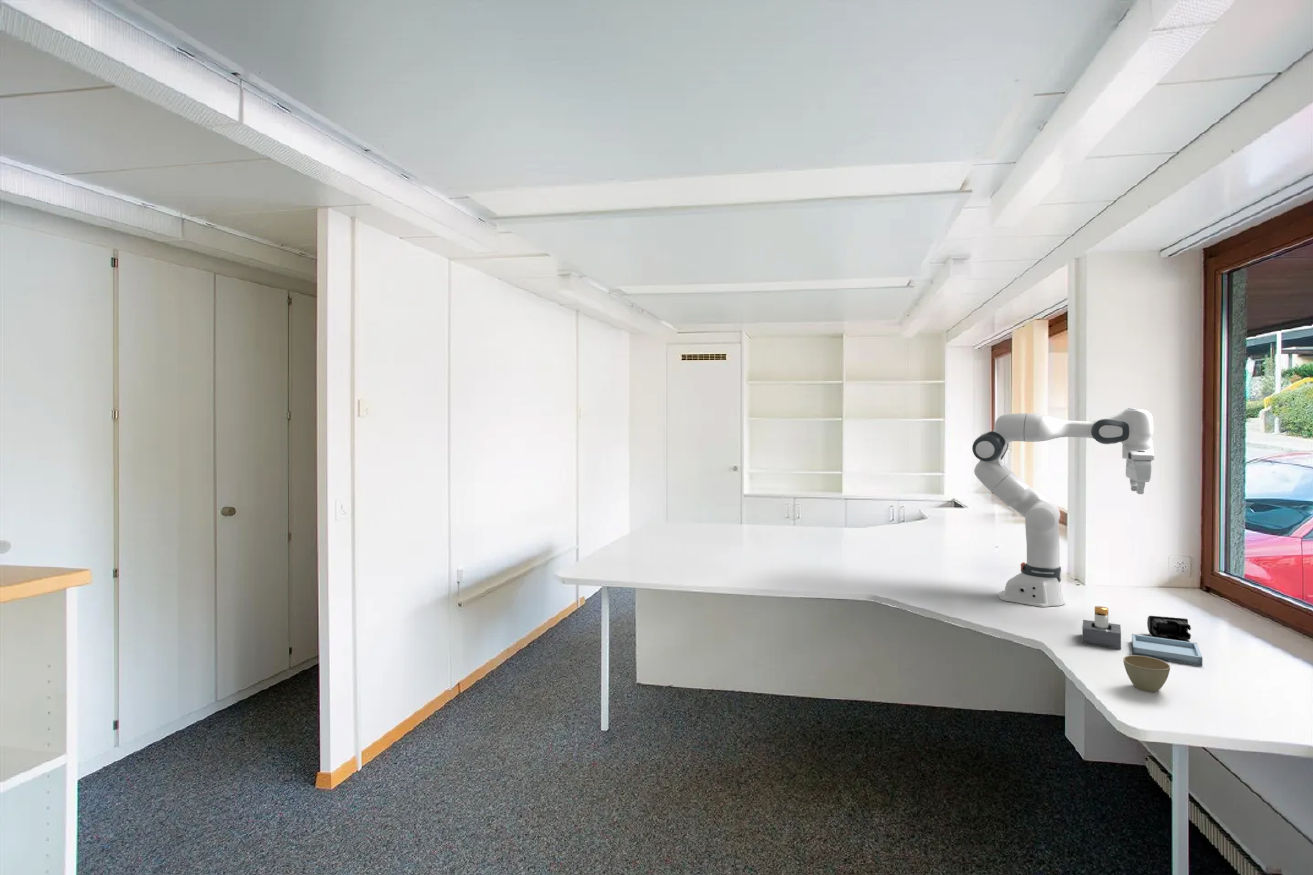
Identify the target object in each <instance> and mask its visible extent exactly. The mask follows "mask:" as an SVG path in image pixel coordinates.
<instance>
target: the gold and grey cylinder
mask: <svg viewBox="0 0 1313 875" xmlns="http://www.w3.org/2000/svg"><path fill="white" fill-rule="evenodd" d="M1094 621H1095V628H1100V629H1108V623H1109V608H1108V607H1106V606H1101V605H1100V606H1099V605H1098V606H1097V605H1096V606H1094Z"/></svg>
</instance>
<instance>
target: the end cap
mask: <svg viewBox="0 0 1313 875" xmlns="http://www.w3.org/2000/svg"><path fill="white" fill-rule="evenodd" d="M1146 620H1147V625H1146V626H1147V630H1148V633H1149V634H1150V635H1151V636H1150V637H1157V638H1164V639H1171V640H1178V641H1185V642H1191V641H1190V639H1191V637H1192V635H1191V633H1190V632H1189V631H1192V627H1191V625H1190V624H1189V620H1188V618H1184V617H1173V616H1172V617H1169V616H1160V615H1159V616H1157V615H1148V617H1147V619H1146Z"/></svg>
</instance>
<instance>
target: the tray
mask: <svg viewBox="0 0 1313 875" xmlns="http://www.w3.org/2000/svg"><path fill="white" fill-rule="evenodd" d="M1131 646H1132V655H1138V656H1147V657H1152V658H1156V659H1159V660H1162V661H1165V662H1166V661H1167V662H1173V663H1174V662H1175V663H1181V664H1186V665H1192V666H1200V667H1202V666H1203V655H1202V652H1201V650H1200V647H1199V646H1198V643H1197V642H1192V641H1190V642H1185V641H1178V640H1171V639H1164V638H1157V637H1152V636H1150V635H1149V636H1148V635H1141V634H1133V633H1132V634H1131Z"/></svg>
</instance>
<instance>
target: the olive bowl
mask: <svg viewBox="0 0 1313 875" xmlns="http://www.w3.org/2000/svg"><path fill="white" fill-rule="evenodd" d="M1122 659H1123V660H1122V661H1123V662H1122V663H1123V665H1124V669H1125V672H1126V674H1127V677H1128V679H1129V680H1130V682H1131V683H1132V685H1133V687H1134V688H1136V689H1137V690H1139V691H1143V692H1146V693H1157V692H1159V691H1160V690H1161V689H1162V688H1163V687H1164V685H1165V683H1166V682H1167V679H1168V677H1169V674H1170V671H1171V665H1170V664H1169V663H1168V662H1166V661H1165V660H1160V659H1156V658H1152V657H1147V656H1138V655H1133V654H1130V655H1125V656H1124V657H1123V658H1122Z"/></svg>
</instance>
